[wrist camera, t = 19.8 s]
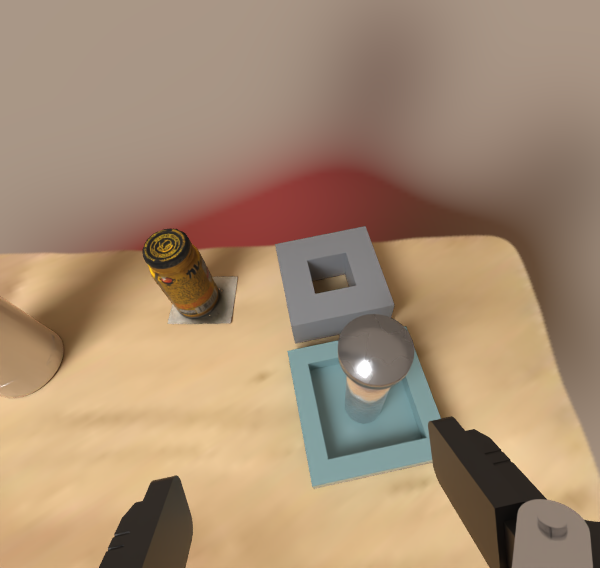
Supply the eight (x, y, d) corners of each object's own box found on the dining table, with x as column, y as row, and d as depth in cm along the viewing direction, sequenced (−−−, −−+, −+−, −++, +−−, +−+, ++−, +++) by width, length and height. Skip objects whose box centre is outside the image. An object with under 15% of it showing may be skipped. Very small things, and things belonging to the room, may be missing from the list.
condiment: (179, 278, 54) (143, 221, 44) (238, 277, 53) (215, 220, 43) (168, 324, 50) (125, 274, 40) (231, 324, 50) (204, 274, 39)
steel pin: (344, 436, 40) (348, 391, 27) (332, 385, 43) (330, 321, 30) (395, 425, 41) (425, 375, 27) (380, 375, 44) (400, 307, 30)
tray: (313, 488, 39) (312, 486, 36) (290, 360, 46) (287, 351, 44) (446, 459, 39) (454, 455, 37) (402, 336, 47) (406, 326, 44)
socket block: (295, 343, 47) (291, 326, 43) (280, 266, 54) (275, 244, 49) (389, 324, 48) (394, 304, 43) (363, 249, 54) (365, 226, 50)
